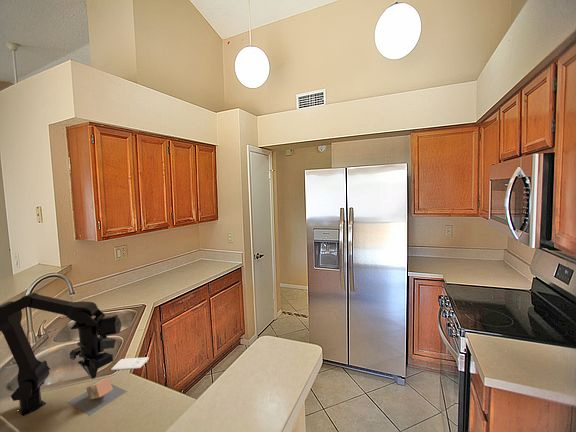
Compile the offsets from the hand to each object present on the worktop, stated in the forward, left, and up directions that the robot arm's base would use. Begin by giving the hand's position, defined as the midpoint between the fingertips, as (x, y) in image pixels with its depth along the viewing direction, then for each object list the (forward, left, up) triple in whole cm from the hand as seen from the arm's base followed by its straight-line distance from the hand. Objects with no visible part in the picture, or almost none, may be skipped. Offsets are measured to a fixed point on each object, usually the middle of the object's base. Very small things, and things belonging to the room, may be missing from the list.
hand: (93, 378), depth 105 cm
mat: (+2, 0, -7) cm, 7 cm away
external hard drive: (-8, +18, -8) cm, 21 cm away
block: (0, 0, -5) cm, 5 cm away
